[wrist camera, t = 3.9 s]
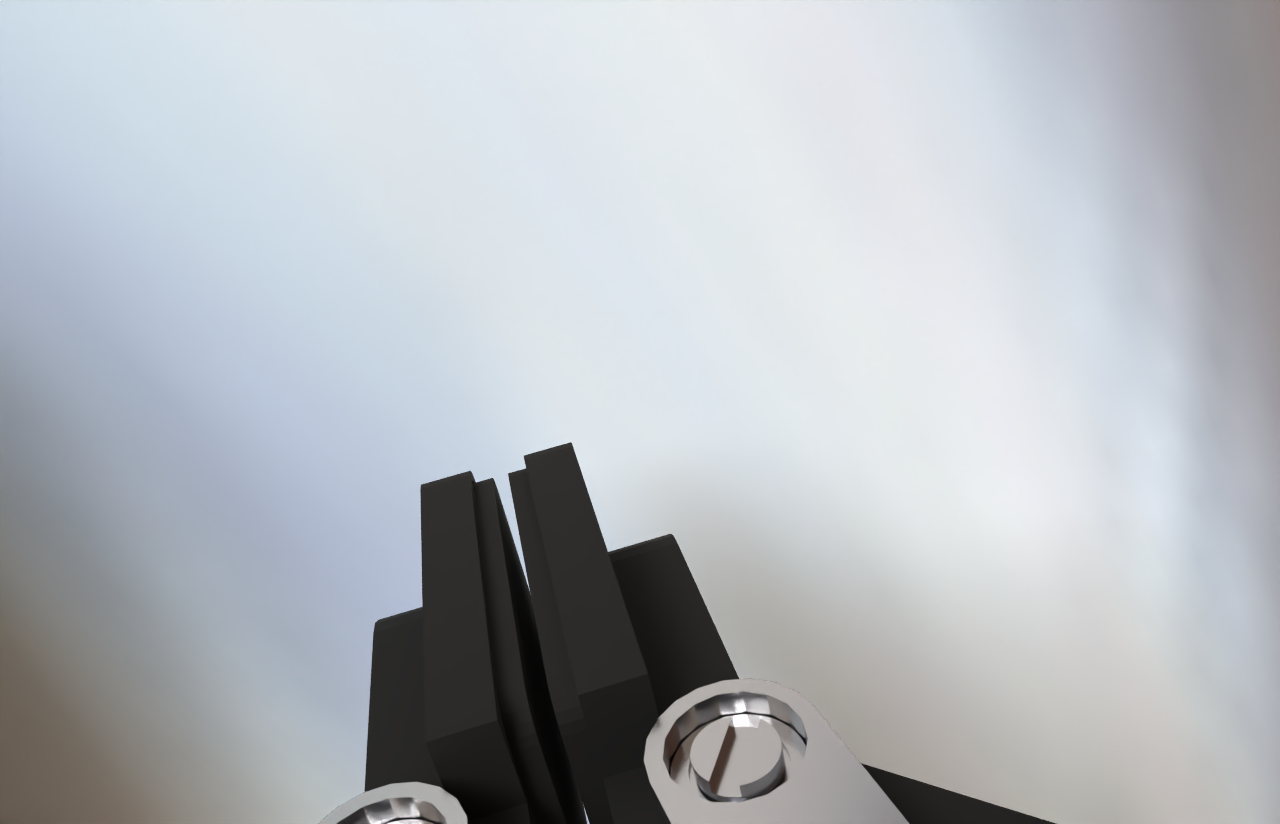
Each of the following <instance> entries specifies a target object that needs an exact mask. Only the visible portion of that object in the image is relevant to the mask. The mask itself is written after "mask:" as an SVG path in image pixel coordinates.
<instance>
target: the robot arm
mask: <svg viewBox="0 0 1280 824" xmlns="http://www.w3.org/2000/svg"><path fill="white" fill-rule="evenodd" d="M524 460H525V464H526V469H523V470H519V471H516V472H512V473H509V474H508V476H509V482H510V487H511V492H512V498H513V503H514V508H515V514H516V519H517V524H518V529H519V535H520V540H521V545H522V551H523V556H524V561H525V567H526V572H527V577H528V583H529V588H530V591H529V588H528V585H527V582H526V578H525V575H524V572H523V569H522V566H521V563H520V559H519V556H518V553H517V550H516V547H515V544H514V540H513V537H512V534H511V531H510V528H509V525H508V521H507V518H506V515H505V512H504V509H503V505H502V502H501V499H500V496H499V493H498V490H497V487H496V484H495V481H494V479H493V478H491V479H487V480H484V481H480V482H477V483H476V482H475V479H474V477H473V474H472V472H471V471H468V472H464V473H461V474H457V475H454V476H450V477H447V478H443V479H440V480H436V481H433V482H429V483H426V484H422V485H421V541H422V597H423V607H421V608H417V609H414V610H411V611H407V612H404V613H400V614H397V615H394V616H390V617H387V618H383V619H380V620H378V621H377V622H376V623H375V627H374V634H373V652H372V669H371V687H370V705H369V723H368V741H367V759H366V777H365V792H364V793H362V794H360V795H358V796H356V797H355V798H353V799H351V800H349V801H347V802H346V803H344V804H342V805H340V806H338V807H337V808H336V809H335V810H333V811H332V812H331V813H330V814H329V815H327V816H326V817H325V818H324V819H323V820H321V821H320V822H319V823H318V824H587V821H586V816H585V811H584V807H585V810H586V813H587V817H588V820H589V823H590V824H1055V823H1052V822H1049V821H1046V820H1042V819H1039V818H1036V817H1033V816H1030V815H1026V814H1023V813H1020V812H1017V811H1013V810H1010V809H1007V808H1004V807H1000V806H997V805H994V804H991V803H987V802H984V801H981V800H978V799H975V798H971V797H968V796H965V795H962V794H958V793H955V792H952V791H949V790H945V789H942V788H939V787H936V786H932V785H929V784H926V783H923V782H920V781H916V780H913V779H910V778H907V777H903V776H900V775H897V774H894V773H890V772H887V771H884V770H881V769H877V768H874V767H871V766H868V765H865V764H861V763H860V762H859V761H858V759H857V758H856V757H855V756H854V754H853V753H852V752H851V751H850V749H849V748H848V747H847V746H846V744H845V743H844V742H843V741H842V739H841V738H840V737H839V736H838V734H837V733H836V732H835V731H834V730H833V728H832V727H831V726H830V725H829V723H828V722H827V721H826V720H825V718H824V717H823V716H822V715H821V713H820V712H819V711H818V710H817V708H816V707H815V706H814V705H812V704H811V703H810V702H809V701H808V700H807V699H806V698H804V697H803V696H802V695H801V694H800V693H799V692H797V691H795V690H792V689H790V688H788V687H785V686H783V685H781V684H778V683H776V682H771V681H764V680H757V679H751V678H748V679H739V678H738V675H737V673H736V671H735V669H734V667H733V664H732V662H731V660H730V658H729V656H728V653H727V651H726V649H725V647H724V645H723V642H722V640H721V638H720V636H719V634H718V631H717V629H716V627H715V625H714V623H713V620H712V618H711V616H710V614H709V612H708V609H707V607H706V605H705V603H704V601H703V598H702V596H701V594H700V592H699V590H698V588H697V585H696V583H695V581H694V579H693V577H692V574H691V572H690V570H689V568H688V566H687V563H686V561H685V559H684V557H683V555H682V552H681V550H680V548H679V546H678V544H677V542H676V540H675V538H674V536H673V535H672V534H668V535H665V536H661V537H658V538H655V539H651V540H648V541H644V542H641V543H638V544H634V545H631V546H628V547H624V548H621V549H617V550H614V551H611V552H608V551H607V548H606V545H605V542H604V539H603V536H602V533H601V530H600V527H599V524H598V521H597V518H596V515H595V512H594V509H593V506H592V503H591V500H590V497H589V494H588V491H587V488H586V485H585V482H584V479H583V476H582V473H581V470H580V467H579V464H578V461H577V458H576V455H575V452H574V449H573V446H572V443H567V444H563V445H560V446H556V447H553V448H549V449H546V450H542V451H539V452H535V453H532V454H528V455H525V456H524ZM530 593H531V594H530ZM583 804H584V806H583Z"/></svg>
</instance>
